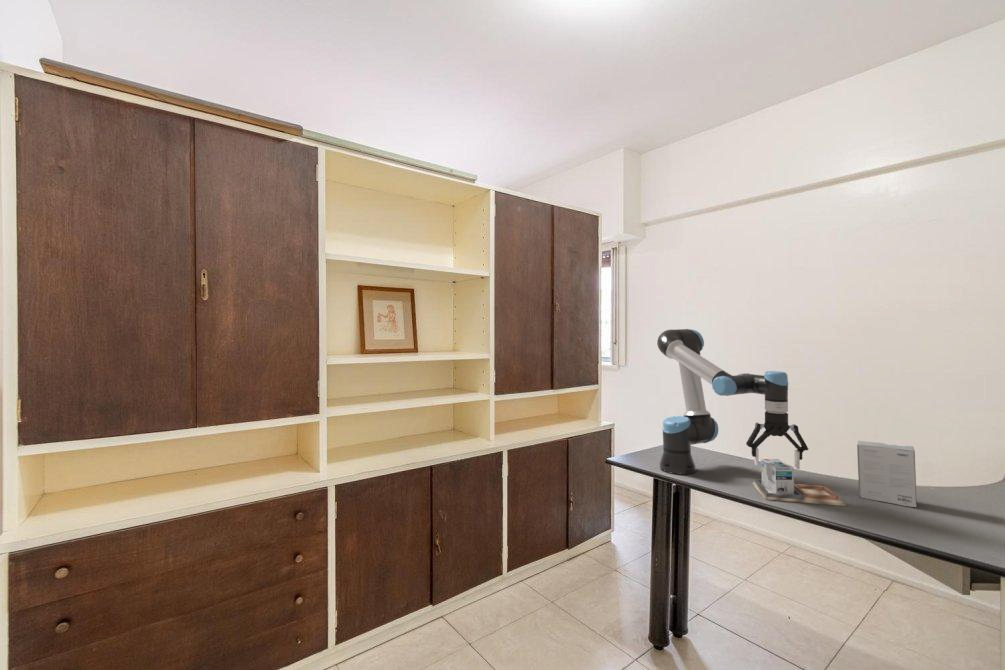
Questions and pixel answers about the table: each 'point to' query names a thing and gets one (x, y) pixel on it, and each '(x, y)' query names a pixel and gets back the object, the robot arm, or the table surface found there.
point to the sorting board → (802, 494)
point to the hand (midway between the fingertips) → (776, 466)
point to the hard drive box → (887, 473)
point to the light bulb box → (777, 476)
